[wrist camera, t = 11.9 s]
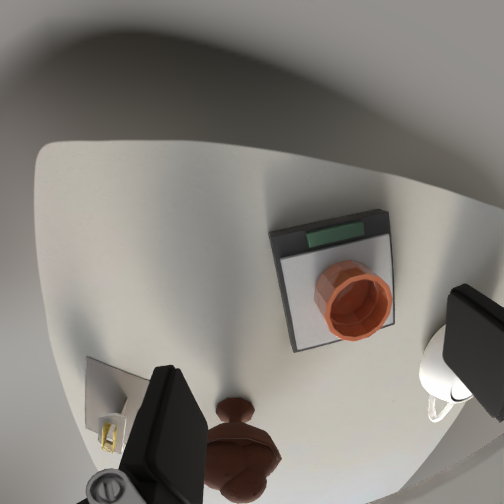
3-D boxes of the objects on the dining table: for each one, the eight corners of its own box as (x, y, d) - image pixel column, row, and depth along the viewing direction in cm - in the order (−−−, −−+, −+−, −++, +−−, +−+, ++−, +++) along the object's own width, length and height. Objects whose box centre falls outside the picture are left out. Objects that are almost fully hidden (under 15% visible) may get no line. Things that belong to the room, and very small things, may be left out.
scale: (268, 232, 32) (271, 238, 29) (379, 208, 32) (392, 212, 29) (290, 342, 36) (294, 357, 33) (386, 315, 36) (397, 327, 32)
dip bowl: (307, 267, 30) (320, 285, 25) (370, 251, 30) (391, 266, 25) (316, 324, 32) (328, 349, 27) (374, 308, 32) (393, 329, 27)
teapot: (441, 397, 41) (469, 434, 31) (386, 395, 40) (413, 442, 29) (499, 287, 36) (542, 313, 26) (452, 267, 34) (503, 296, 24)
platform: (85, 428, 40) (73, 453, 33) (87, 356, 35) (67, 384, 29) (148, 452, 41) (141, 480, 35) (166, 386, 37) (156, 419, 31)
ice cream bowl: (283, 390, 38) (300, 478, 23) (259, 438, 40) (266, 517, 26) (206, 375, 37) (195, 467, 22) (191, 426, 39) (181, 507, 25)
